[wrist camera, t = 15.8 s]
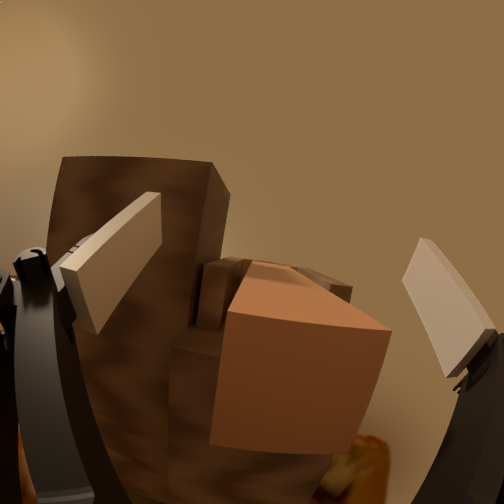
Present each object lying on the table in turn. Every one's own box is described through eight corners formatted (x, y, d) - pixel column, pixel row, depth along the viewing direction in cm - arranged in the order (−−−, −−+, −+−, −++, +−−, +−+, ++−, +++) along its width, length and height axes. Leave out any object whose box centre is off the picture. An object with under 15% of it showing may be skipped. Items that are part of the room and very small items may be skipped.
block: (209, 444, 6) (227, 311, 6) (246, 296, 30) (252, 260, 30) (347, 452, 6) (391, 330, 6) (282, 301, 30) (288, 266, 30)
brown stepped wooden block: (60, 480, 13) (38, 145, 13) (132, 397, 34) (148, 196, 34) (282, 541, 13) (398, 180, 12) (275, 427, 34) (317, 220, 33)
